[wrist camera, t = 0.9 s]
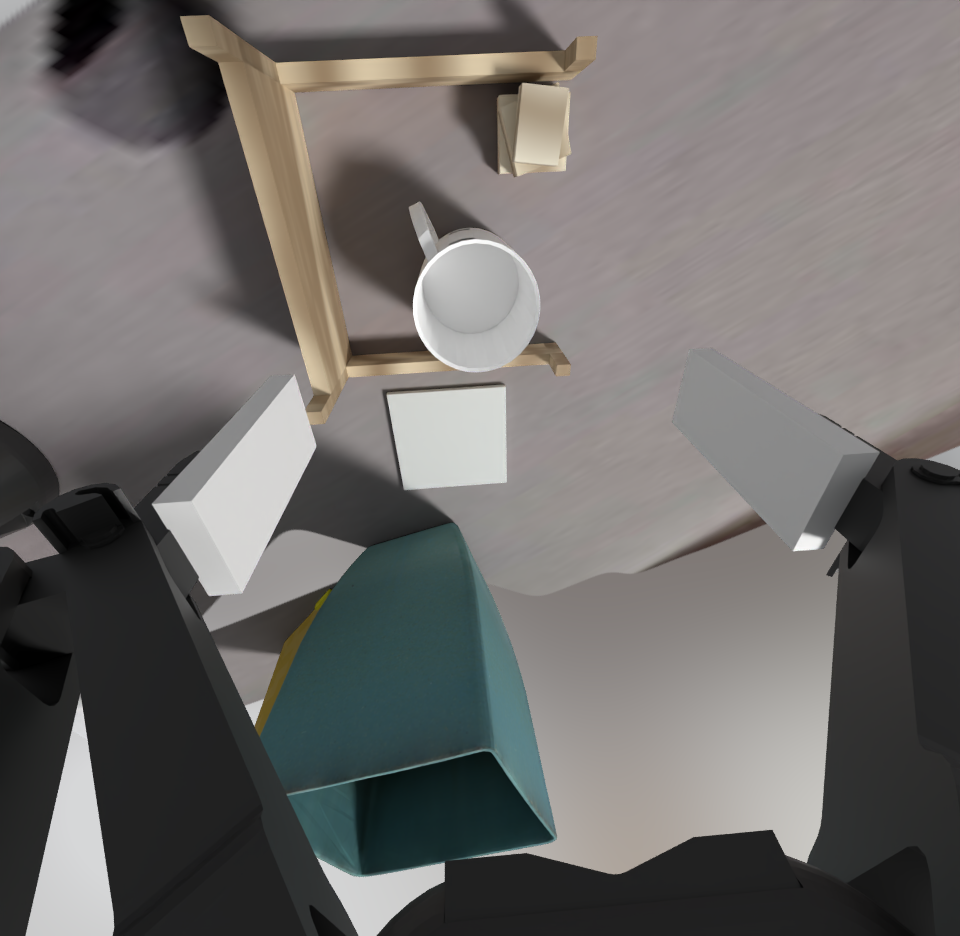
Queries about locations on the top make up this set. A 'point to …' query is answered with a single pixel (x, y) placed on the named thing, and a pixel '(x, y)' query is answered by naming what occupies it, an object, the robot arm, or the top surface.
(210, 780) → the robot arm
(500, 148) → the offcut
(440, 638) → the flower pot
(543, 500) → the top surface
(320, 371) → the frame
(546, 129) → the offcut
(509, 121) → the offcut
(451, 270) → the mug
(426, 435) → the felt mat
